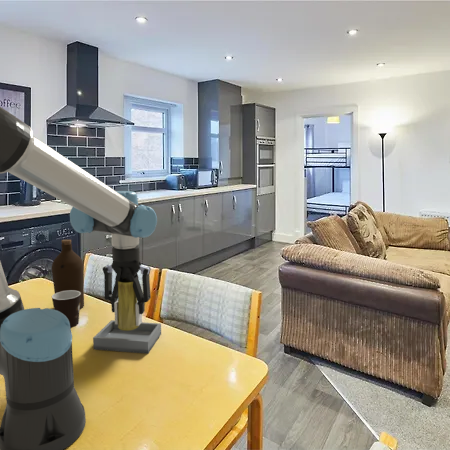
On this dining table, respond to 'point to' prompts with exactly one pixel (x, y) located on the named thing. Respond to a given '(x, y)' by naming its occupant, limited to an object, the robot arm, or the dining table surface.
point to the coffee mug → (68, 305)
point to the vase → (126, 305)
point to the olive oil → (68, 271)
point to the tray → (127, 338)
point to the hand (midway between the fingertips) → (128, 322)
